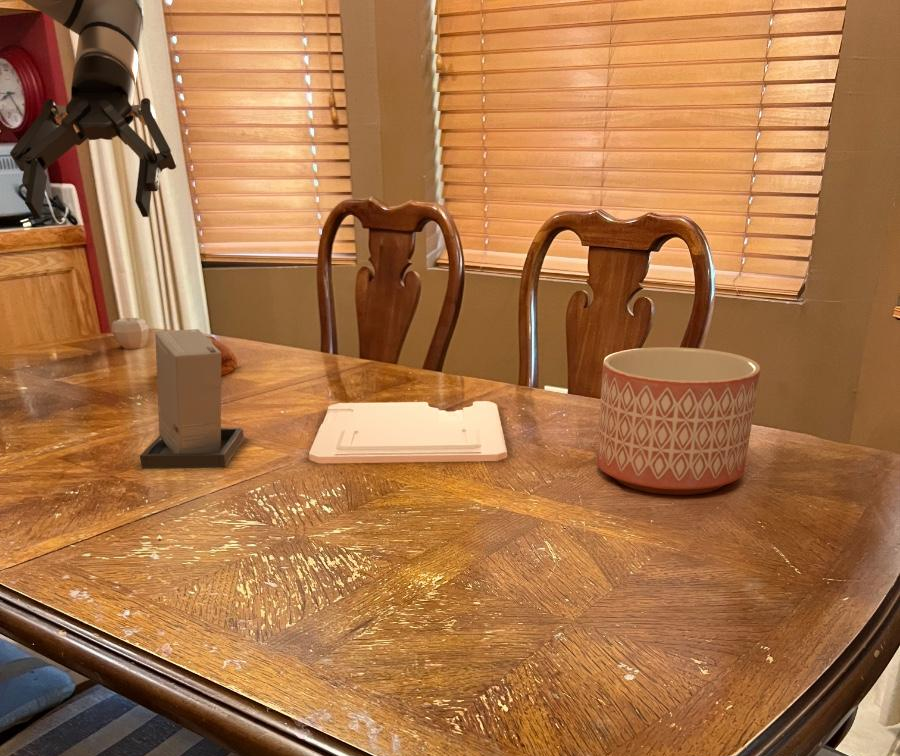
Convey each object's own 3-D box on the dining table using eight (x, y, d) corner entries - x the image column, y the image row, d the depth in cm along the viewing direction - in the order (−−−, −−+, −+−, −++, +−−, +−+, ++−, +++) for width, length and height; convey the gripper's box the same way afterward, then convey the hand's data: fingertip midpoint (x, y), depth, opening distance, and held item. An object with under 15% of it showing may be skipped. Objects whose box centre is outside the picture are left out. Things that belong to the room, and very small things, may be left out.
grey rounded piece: (137, 343, 196) (132, 313, 193) (159, 347, 192) (154, 316, 189) (107, 349, 191) (101, 318, 188) (129, 353, 187) (123, 322, 184)
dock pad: (142, 470, 119) (139, 455, 118) (167, 442, 130) (165, 428, 129) (225, 469, 119) (223, 454, 118) (244, 441, 130) (242, 427, 129)
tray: (330, 410, 145) (330, 401, 144) (496, 407, 145) (496, 398, 144) (308, 465, 120) (307, 454, 119) (508, 462, 120) (508, 451, 120)
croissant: (148, 387, 168) (135, 347, 164) (204, 361, 179) (194, 322, 175) (200, 395, 161) (188, 353, 157) (256, 366, 172) (246, 326, 168)
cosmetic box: (158, 437, 125) (147, 331, 115) (206, 429, 128) (198, 325, 119) (179, 464, 119) (169, 354, 110) (228, 454, 123) (222, 347, 113)
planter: (660, 511, 103) (674, 389, 97) (567, 466, 118) (573, 357, 111) (774, 483, 112) (794, 368, 105) (673, 444, 126) (685, 341, 120)
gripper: (207, 100, 117) (196, 229, 111) (24, 102, 117) (2, 232, 111) (191, 50, 110) (178, 185, 104) (-4, 53, 110) (-29, 188, 103)
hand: (87, 210), depth 107 cm, fingers open, 13 cm apart
